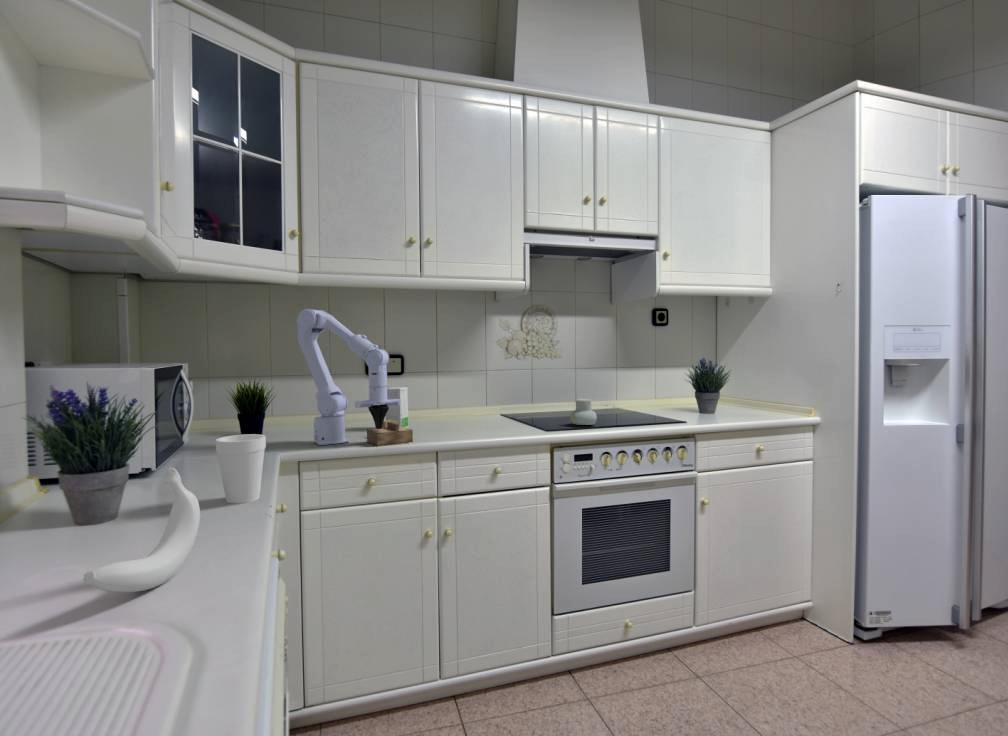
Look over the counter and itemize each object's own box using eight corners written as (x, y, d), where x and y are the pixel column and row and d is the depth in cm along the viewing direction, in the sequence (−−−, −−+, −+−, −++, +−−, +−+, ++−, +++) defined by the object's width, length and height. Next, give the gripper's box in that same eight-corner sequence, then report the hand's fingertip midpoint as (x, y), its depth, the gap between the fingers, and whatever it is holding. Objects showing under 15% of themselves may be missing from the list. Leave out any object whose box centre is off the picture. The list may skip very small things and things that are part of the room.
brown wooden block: (377, 446, 176) (377, 433, 176) (367, 442, 184) (366, 429, 184) (412, 442, 183) (412, 429, 183) (401, 438, 190) (401, 426, 190)
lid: (379, 435, 177) (379, 426, 177) (370, 432, 184) (370, 423, 183) (411, 431, 183) (411, 423, 183) (401, 428, 190) (401, 420, 190)
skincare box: (400, 430, 206) (400, 388, 206) (384, 430, 208) (383, 388, 207) (409, 427, 215) (408, 386, 214) (393, 427, 216) (392, 386, 215)
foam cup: (273, 499, 118) (272, 437, 117) (227, 508, 112) (224, 443, 111) (257, 490, 125) (255, 432, 124) (212, 499, 118) (210, 438, 118)
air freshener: (569, 423, 221) (569, 398, 221) (589, 423, 223) (589, 397, 222) (577, 427, 210) (577, 401, 210) (598, 427, 212) (598, 400, 211)
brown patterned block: (381, 436, 195) (380, 420, 195) (391, 435, 197) (391, 419, 197) (385, 438, 192) (385, 422, 191) (396, 436, 194) (396, 421, 194)
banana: (82, 617, 68) (76, 498, 67) (179, 557, 87) (175, 463, 86) (121, 618, 68) (116, 498, 67) (210, 557, 86) (206, 463, 86)
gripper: (360, 388, 173) (361, 432, 174) (404, 386, 181) (404, 428, 182) (352, 387, 179) (353, 429, 180) (395, 384, 187) (396, 425, 188)
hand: (378, 428), depth 181 cm, fingers closed
